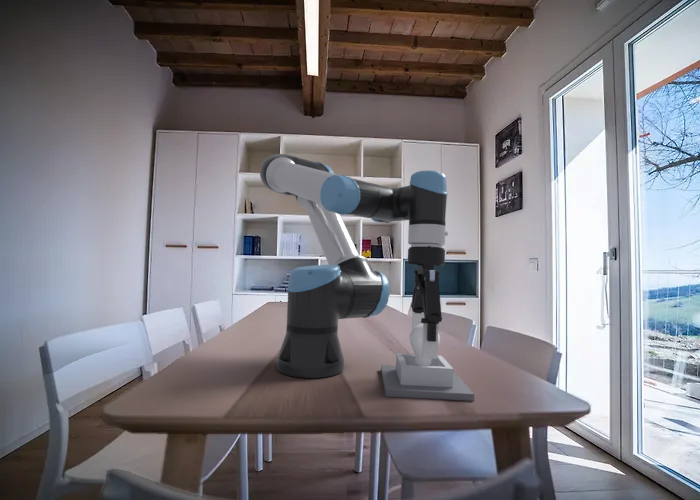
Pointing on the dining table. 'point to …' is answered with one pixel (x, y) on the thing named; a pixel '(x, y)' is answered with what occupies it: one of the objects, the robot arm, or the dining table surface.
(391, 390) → the lamp socket
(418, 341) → the lightbulb
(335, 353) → the robot arm
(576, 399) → the dining table surface
